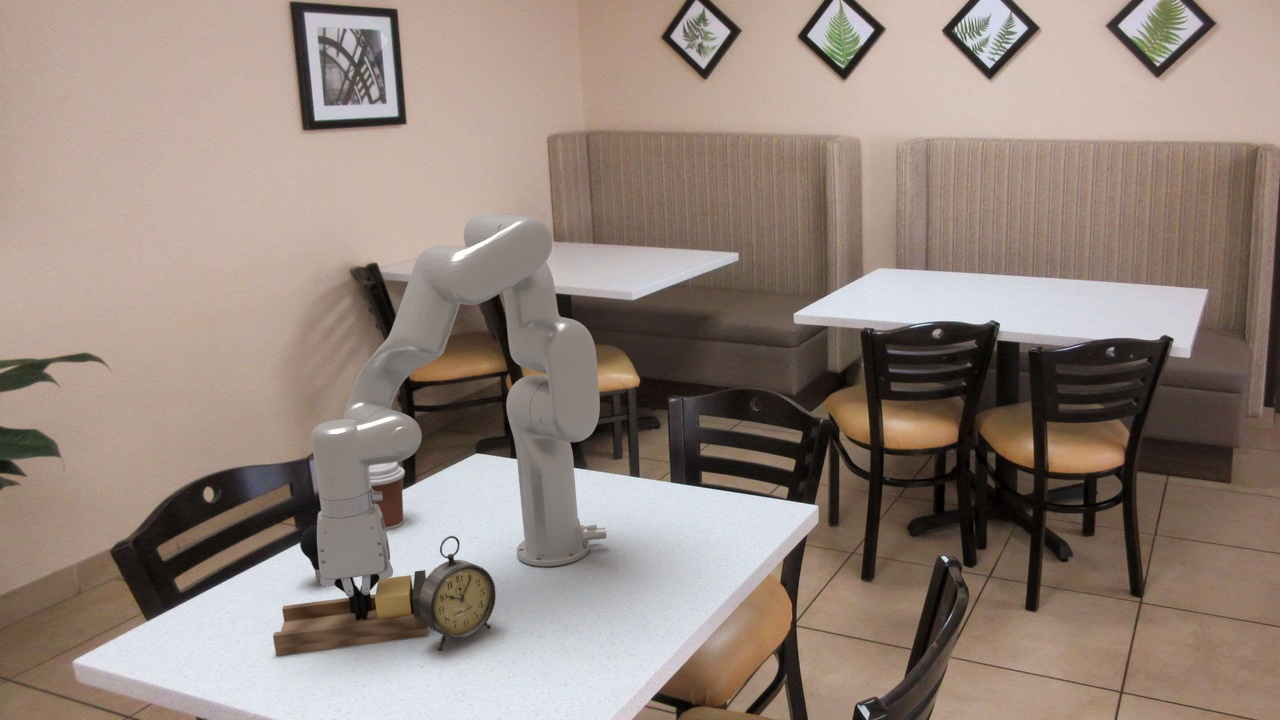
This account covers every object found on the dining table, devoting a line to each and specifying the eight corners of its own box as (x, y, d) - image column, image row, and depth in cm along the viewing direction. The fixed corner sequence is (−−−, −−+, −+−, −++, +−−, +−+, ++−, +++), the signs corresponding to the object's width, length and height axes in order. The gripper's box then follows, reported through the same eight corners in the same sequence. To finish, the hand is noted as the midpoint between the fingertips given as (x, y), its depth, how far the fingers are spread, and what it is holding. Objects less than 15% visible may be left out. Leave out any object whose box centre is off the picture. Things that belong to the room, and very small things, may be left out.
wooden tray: (429, 606, 173) (425, 570, 172) (427, 635, 163) (423, 597, 162) (286, 624, 170) (280, 588, 168) (276, 656, 160) (270, 617, 159)
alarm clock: (438, 658, 157) (425, 553, 153) (419, 645, 161) (406, 543, 157) (501, 630, 164) (491, 529, 160) (481, 619, 168) (470, 520, 164)
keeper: (414, 604, 171) (410, 575, 170) (412, 625, 164) (409, 594, 163) (382, 608, 170) (378, 579, 169) (378, 629, 164) (374, 598, 162)
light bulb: (331, 589, 181) (323, 533, 179) (299, 588, 183) (291, 532, 180) (347, 574, 187) (340, 519, 185) (316, 573, 188) (308, 518, 186)
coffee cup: (420, 519, 210) (413, 460, 207) (386, 537, 202) (378, 475, 199) (386, 512, 214) (379, 454, 211) (351, 529, 207) (343, 469, 204)
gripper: (399, 488, 167) (413, 598, 171) (298, 500, 165) (315, 611, 169) (396, 506, 159) (411, 620, 164) (291, 518, 157) (308, 634, 162)
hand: (362, 615), depth 166 cm, fingers closed
